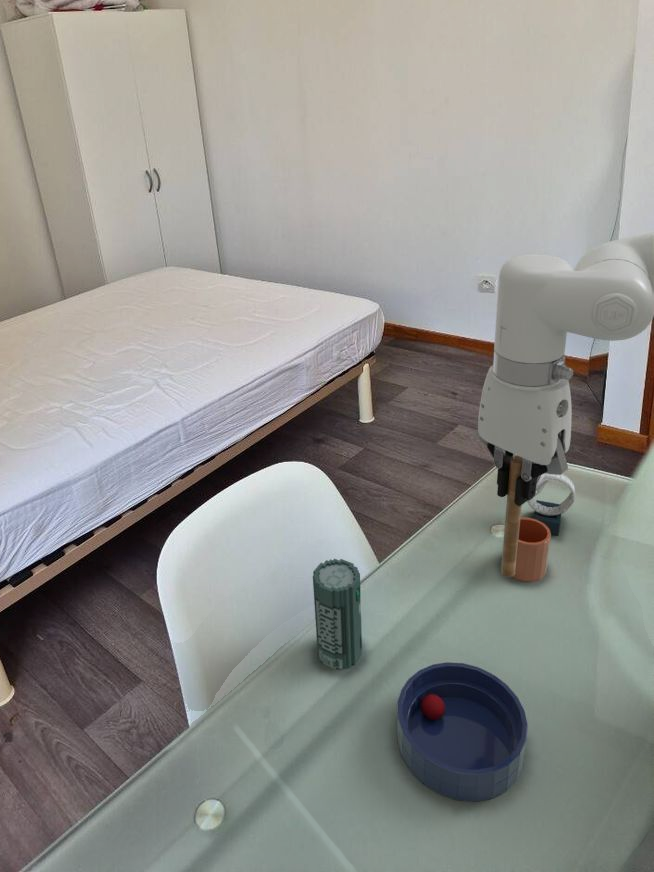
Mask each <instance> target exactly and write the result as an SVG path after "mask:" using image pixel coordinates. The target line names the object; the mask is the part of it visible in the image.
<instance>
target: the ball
mask: <svg viewBox="0 0 654 872" xmlns="http://www.w3.org/2000/svg"><path fill="white" fill-rule="evenodd" d="M421 710H422V712H423V714H424V715H425V716H426V717H427V718H428V719H430V720H438V719H440V718H441V717H442V716H443V714H444V712H445V705H444V702H443V700H442V699H441V698H440V697H439V696H437V695H434V694H429V695H427V696H425V697H424V698H423V700H422V702H421Z"/></svg>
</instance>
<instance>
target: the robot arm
mask: <svg viewBox="0 0 654 872" xmlns="http://www.w3.org/2000/svg"><path fill="white" fill-rule="evenodd" d="M497 287H498V288H497V301H496V314H495V315H496V316H495V331H494V332H495V333H494V347H493V356H492V357H493V359H492V365H491V366H490V367H489V369H488V371H487V373H486V376H485V380H484V383H483V386H482V390H481V394H480V395H481V396H480V401H479V409H478V418H477V430H476V431H475V433H474V435H475V438H476V439H477V440H478V441H479V442H481V443H482V444H483V445H484V446H486V447H487V451H489V453H490V455H491V456H492V458H493V465H494V467H495V468H496V469H497V476H496V477H497V478H496V485H497V491H496V495H497V497H500V498H504V497H507V494H508V482H509V471H510V459H511V457H512V456H516V455H518V456H520V457H522V458H523V462H522V471H521V476H519V477H518V478H517V479H516V488H515V499H514V503H515V504H516V505H518V506H521V505H522V506H523V505H524V504H525V503H527V501H528V500H531V499H532V498H533V499H534V497H536V496H535V493H536V485H537V477H538V476H540V475H542V474H544V473H548V474H554V475H561V474H565V472H568V470H569V466H568V462H567V459H566V458H567V457H566V455H565V454H566V453H568V451H569V449H570V445H571V436H572V417H573V415H572V413H573V412H572V410H573V409H572V406H573V405H572V396H571V387H570V382H569V381H570V380H571V379H572V377H573V376H574V369H573V368H571V367H568V365H566V358H567V357H566V356H565V354H566V353H565V352H566V343H567V336H568V333H569V334H574V335H579V336H582V337H587V338H590V339H596V340H601V341H612V342H615V341H625V340H628V339H632V338H634V337H636V336H638V335H640V334H641V333H643V332H644V331H645V330H646V329H647V328H648V327H649V326H650V324H651V323H652V321H653V319H654V232H650V233H649V232H648V233H645V234H640V235H634V236H629V237H625V238H624V237H623V238H618V239H615V240H611V241H607V242H605V243H601V244H599V245H597V246H595V247H593V248H591V249H589V250H588V251H587V252H586V253H584V254H583V256H582V257H581V258H580V259H579V260H578V262H577V263H576V264H575V267H574V269H573V267H572V266H571V264H570V263H569V262H568V261H566V259H564V258H562V257H558V256H554V255H549V254H543V253H542V254H541V253H540V254H539V253H531V254H520V255H517V256H513V257H511V258H509V259H507V260H506V261H505V262H504V263H503V264H502V266H501V267H500V270H499V275H498V286H497Z"/></svg>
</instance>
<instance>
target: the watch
mask: <svg viewBox="0 0 654 872" xmlns="http://www.w3.org/2000/svg"><path fill="white" fill-rule="evenodd" d="M550 480H554V481H558V482H560V483H562V484H564V485H565V486H567V488H568V489H569V490H570V492H569V494H568V495H567V497H566V498H565V499H564V500H563V501H562V502H560V503H554V502H550V501H545V500H538V499H536V500H535V499H534V497H537V495H539V494H540V493H541V492H542V491H543V489H544V488H545V486H546V484H547V483H549V481H550ZM534 497H533V498H532V499H531V500H528V501H526V503H528V506H529V507H530V508H531V509H532V510H533V511H534V512H533V517H532V519H536V520H538V521H540V522H542V523H544V524H545V525H546V526H547V527H548V528H549V529H550V532H551V536H555V537H559V535H560V527H561V519H562V515H563V514H565V513H566V512H567V511H568V510H569V509H570V508H571V507H572V505H573V504H574V502H575V499H576V488H575V484H574V482H573V481H572V480H571V478H570V477H569V476H567V475H566V474H565V473H563V474H561V475H554V474H548V473H544V474H542V475H540V476H538V477H537V485H536V493H535V496H534Z"/></svg>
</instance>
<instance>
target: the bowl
mask: <svg viewBox="0 0 654 872" xmlns="http://www.w3.org/2000/svg"><path fill="white" fill-rule="evenodd" d="M429 694H434V695H437V696H439V697H440V698H441V699H442V700H443V702H444V705H445V712H444V714H443V716H442V717H441V718H440V719H438V720H430V719H428V718H427V717H426V716H425V715H424V714H423V712H422V710H421V702H422V700H423V698H424V697H425V696H427V695H429ZM396 712H397V714H396V715H397V716H396V717H397V719H396V720H397V721H396V722H397V723H396V724H397V727H396V730H397V732H396V733H397V745H398V748H399V751H400V755H401V757H402V760H403V761H404V762H405V764H406V766H407V768H408V769H409V771H410V773H411V774H412V775H414V776H415V777H416V779H418V780H419V781H420V782H421V783H422V785H424V786H425V787H428V788H429V789H430V790H432V791H433V792H436V793H437V794H438V795H440V796H444V797H447V798H449V799H453V800H456V801H461V802H471V803H473V802H474V803H476V802H481V801H486V800H491V799H494V798H496V797H497V796H500V795H501V794H504V793H505V792H507V791H508V790H509V789H510V788H511V787H512V786H513V785H514V784H515V783H516V782H517V780H519V779H518V778H519V777H520V774H521V772H522V770H523V768H524V761H525V753H526V747H527V740H528V739H527V738H528V727H529V725H528V720H527V716H526V711H525V709H524V707H523V705H522V703H521V701H520V700H519V697H518V696H517V694H515V692H514V691H513V690H512V689H511V688H510V686H509V685H508V684H507V683H506V682H505V681H503V680H502V679H500V678H499V677H498V676H496V675H495V674H493V673H491V672H489V671H487V670H485V669H483V668H481V667H479V666H476V665H473V664H472V665H471V664H467V663H464V662H450V661H449V662H447V661H446V662H440V663H434V664H431V665H428V666H426V667H424V668H422V669H420V670H419V669H418V671H417V672H415V673H414V674H412V676H410V677H409V678H408V679H407V680H406V682H405V684H404V685H403V686H402V687H401V690H400V693H399V696H398V699H397V711H396Z"/></svg>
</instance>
